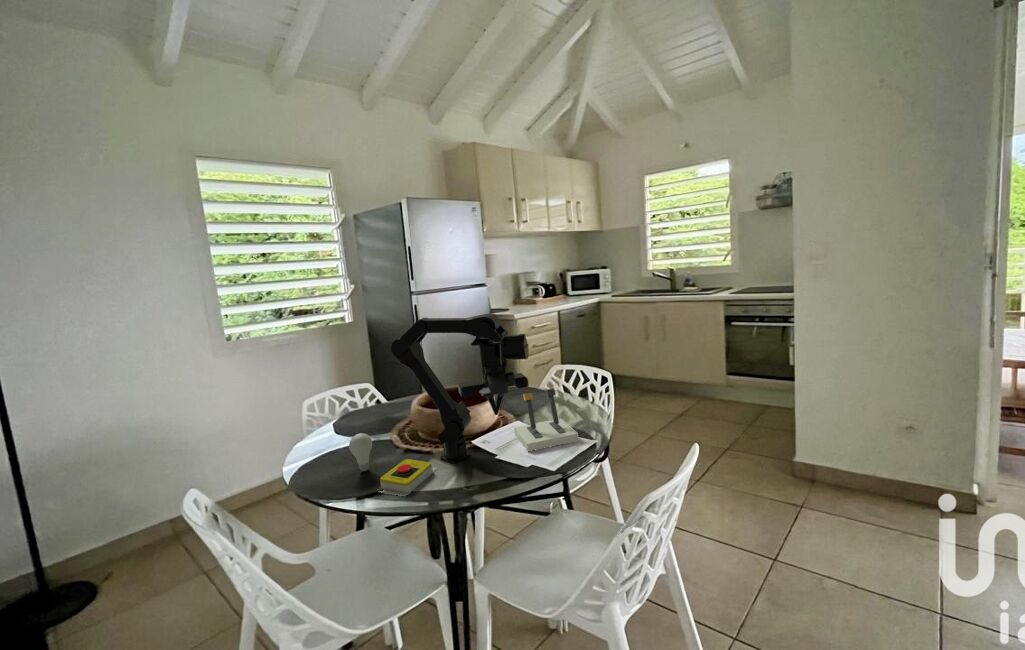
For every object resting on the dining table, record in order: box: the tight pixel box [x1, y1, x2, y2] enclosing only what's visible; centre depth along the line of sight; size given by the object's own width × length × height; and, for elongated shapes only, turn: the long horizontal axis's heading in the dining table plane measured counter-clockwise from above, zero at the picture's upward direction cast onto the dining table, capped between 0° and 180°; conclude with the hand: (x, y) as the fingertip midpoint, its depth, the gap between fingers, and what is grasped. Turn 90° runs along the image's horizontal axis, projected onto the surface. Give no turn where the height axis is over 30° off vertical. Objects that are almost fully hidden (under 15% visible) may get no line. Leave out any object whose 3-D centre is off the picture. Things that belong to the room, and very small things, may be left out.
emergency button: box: [378, 458, 438, 497], centre depth 115 cm, size 9×4×15 cm
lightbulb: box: [348, 432, 373, 472], centre depth 121 cm, size 6×6×11 cm
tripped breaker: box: [522, 392, 537, 429], centre depth 133 cm, size 2×2×11 cm
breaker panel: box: [513, 388, 580, 452], centre depth 132 cm, size 16×13×14 cm
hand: (496, 414), depth 121 cm, fingers closed
